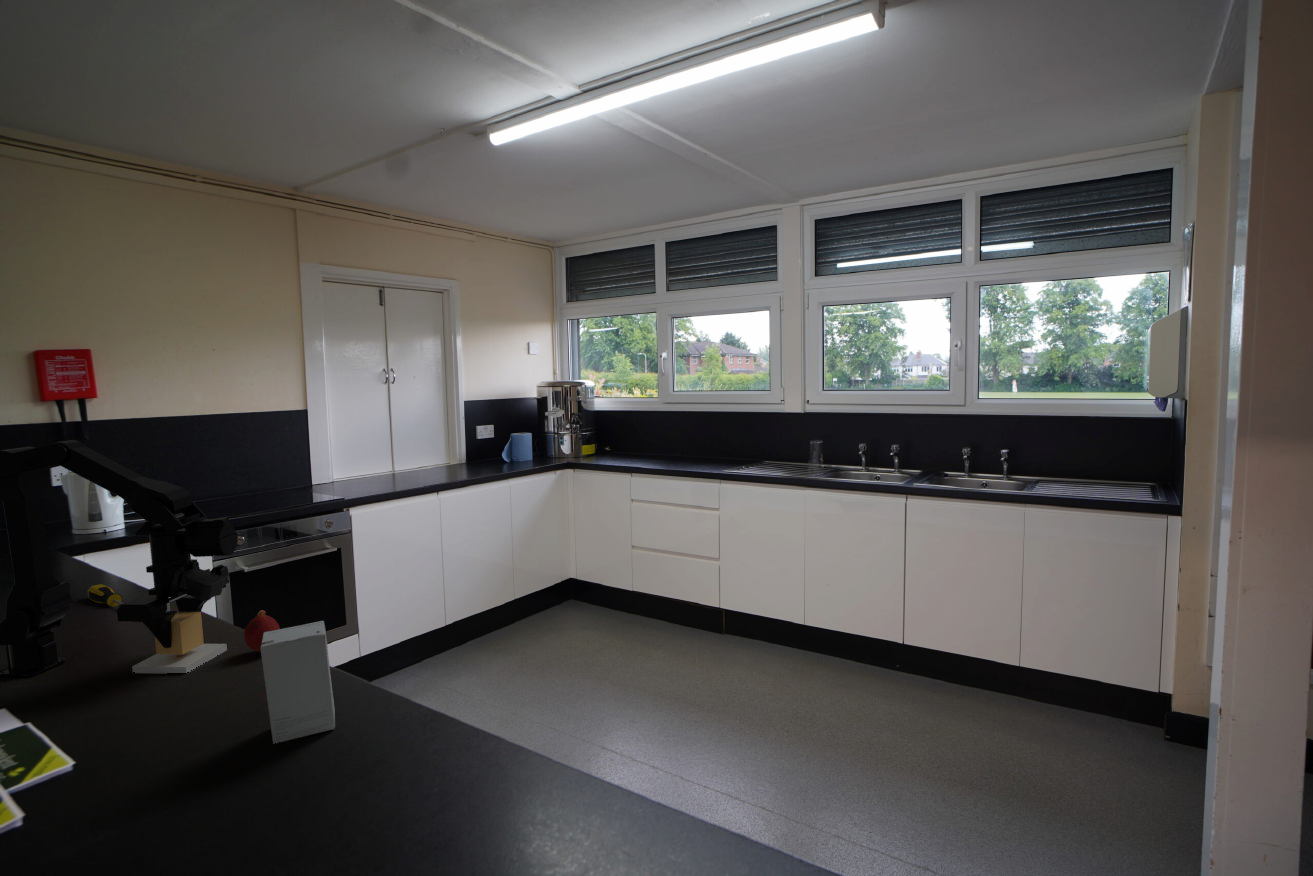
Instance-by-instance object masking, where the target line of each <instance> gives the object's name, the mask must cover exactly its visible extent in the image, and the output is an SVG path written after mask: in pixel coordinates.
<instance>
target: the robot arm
mask: <svg viewBox="0 0 1313 876" xmlns="http://www.w3.org/2000/svg"><path fill="white" fill-rule="evenodd" d="M57 467H62V468H64V469H66V470H68V471H69V472H71V473H73V474H75V475H78V476H79V477H81V478H83V479H85V480H87V481H88V482H91V483H92V484H95V485H97V486H98V487H100V488H102V489H104V490H106V491H108V492H110V493H112V494H113V495H115V496H117V497H120V498H121V500H124V501H125V502H126V504H127V506H128V507H129V508H130V510H131V511H132V512H133V513H135V514H136V515H137V516H139V517H140V518H142V520H144V524H142V526H141V527H140V528H138V529H137V530H136V531H135V533H134V534H135V536H139V537H140V536H148V537H149V538H148V539H149V546H150V547H149V549H150V557H151V558H150V559H151V565H147V566H146V567H145V569H146V570H145V571H146V573H149V574H151V573H152V580H153V586H154V587H151V588H150V589H148V596H155V597H136V598H133V599H131V600H128V601H126V602H122V603H123V604H121V605H118V607H117V609H116V616H117V622H126V623H127V622H131V623H132V622H134V623H136V622H139V623H140V622H141V623H142V624H143V625H145V627H146V628H147V629H148V630H149V631H150V632H151V634H152V635H153V636H154V638H155V637H156V638H157V640H158V641H159V642H160V643H161V645H162V646H163V647H164V648H170V647H171V643H172V631H171V619H172V618H173V617H174V615H175V614H176V613H177V612H201V613H202V610H203V608H204V605H205V604H206V603H207V602H208V601H210V600H211V599H213V598H215V597H216V596H218V597H219V596H221V595H222V592H223V589H224V588H227V585H228V584H229V583H230V579H229V578H230V573H229V572H230V571H229V569H228V566H226V565H225V564H219V565H216V566H214V567H213V568H212V569H210V568H208V569H202V568H201V567H200V564H199V561H198V559H196V558H201V557H203V558H205V557H206V558H207V557H226V556H231V555H233V553H234V552H235V551H236V549H237V545H238V539H239V537H238V532H237V531H236V529H235V527H234V525H233V524H231V523H230V519H229V517H226V516H225V517H218V518H208V516H207V515H206V514H205V512H203V511H202V508H200V507H199V506H198V505H197V504H196V503H195V502H194V500H193V499H192V498H191V493H190V492H189V490H188V489H186V488H184V487H182V486H179V485H176V484H173V483H170V482H167V481H164V480H159V479H157V480H156V479H152V478H150V477H149V478H148V477H146V476H143V475H141V474H139V473H137V472H135V471H133V470H132V469H130V468H128V467H125V466H123V465H122V464H120V463H118V462H116V461H115V460H112V459H111V458H108V457H107V456H105V455H103V454H101V453H99V452H97V451H95V450H93V449H91V448H90V447H88V446H86V444H84V442H81V441H79V440H77V439H75V440H73V439H71V440H64V441H63V440H62V441H55V442H53V443H51V444H48V445H44V446H40V447H36V446H35V447H34V446H24V447H17V448H10V449H1V450H0V500H1V502H2V504H3V511H4V518H5V525H6V531H7V539H8V545H9V553H10V558H11V559H10V560H11V566H12V572H13V579H14V582H13V585H12V588H11V590H10V592H9V593H8V596H7V599H6V601H5V618H4V619H3V620H2V621H1V623H0V646H5V653H6V663H7V669H5V670H3V671H1V672H0V677H33V676H36V675H39V674H41V673H43V672H44V671H47V670H49V669H51V668H54V667H56V666H58V665H60V664H63V663H64V662H66V661H67V660H66V657H65V658H64V657H62V658H61V657H60V658H59V653H58V644H57V643H58V642H57V641H56V639H55V632H54V631H52V630H54V629H57V628H60V627H62V626H63V621H64V618H65V616H66V615H67V614H68V613H69V611H70V609H71V607H70V606H71V604H73V603H74V600H73V599H72V597H71V593H70V591H71V590H70V589H71V584H70V582H69V581H65V582H60V581H59V580H58V579H57V578H56V577H55V576H54V575H53V571H52V570H53V569H52V565H51V557H50V549H49V543H48V537H47V528H46V521H45V517H44V510H43V509H44V508H43V501H42V495H43V493H44V491H45V489H46V487H47V485H48V482H49V481H50V470H51V469H53V468H57ZM183 516H184V517H183ZM191 556H193V557H195V559H192V557H191ZM174 602H175V604H176V606H177V610H171V604H172V603H174Z"/></svg>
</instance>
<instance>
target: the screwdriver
mask: <svg viewBox="0 0 1313 876" xmlns="http://www.w3.org/2000/svg"><path fill="white" fill-rule="evenodd" d="M87 596H88V598H89V600H91V601H92V602H93V603H94V602H95V603H96V604H102V605H105V604H106V605H107V606H108V607H109V608H112V607H113V608H114V607H117V606H120V605H121V604H123V603H124V602H123V597H122V595H121V594H120V593H115V592H114V590H113V588H111V587H109V586H107V585H105V584H101V583H100V584H95V585H91V586H90V587H89V588H88V589H87Z"/></svg>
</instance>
